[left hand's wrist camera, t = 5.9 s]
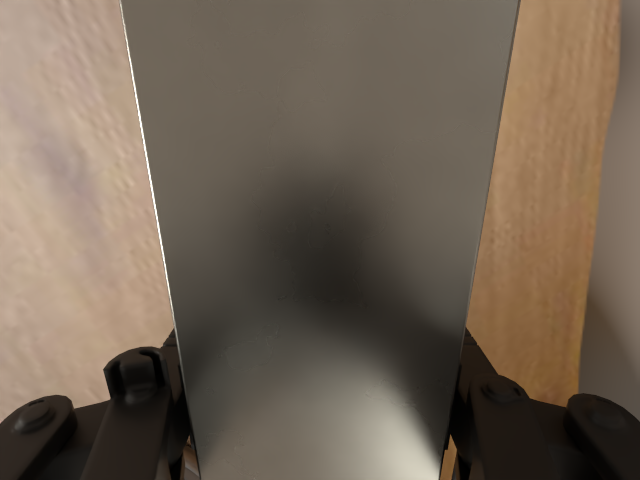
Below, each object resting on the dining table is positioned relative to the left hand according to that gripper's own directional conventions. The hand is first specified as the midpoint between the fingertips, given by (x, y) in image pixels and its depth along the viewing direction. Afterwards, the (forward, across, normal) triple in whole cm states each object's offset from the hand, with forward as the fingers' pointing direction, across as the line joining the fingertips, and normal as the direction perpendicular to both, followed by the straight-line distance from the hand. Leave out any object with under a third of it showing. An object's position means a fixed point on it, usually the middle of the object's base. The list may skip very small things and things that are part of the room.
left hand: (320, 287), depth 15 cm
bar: (+1, 0, -10) cm, 10 cm away
